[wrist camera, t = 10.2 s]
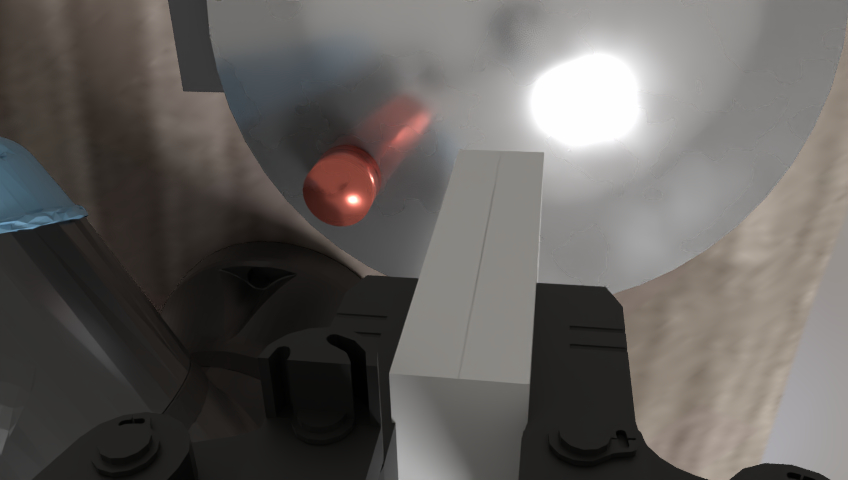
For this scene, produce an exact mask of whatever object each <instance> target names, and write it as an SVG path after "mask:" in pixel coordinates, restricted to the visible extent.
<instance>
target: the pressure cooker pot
mask: <svg viewBox="0 0 848 480" xmlns="http://www.w3.org/2000/svg"><path fill="white" fill-rule="evenodd" d="M168 3H169V9H170V15H171V21H172V27H173V33H174V39H175V45H176V50H177V56H178V62H179V68H180V74H181V80H182V86H183V91H192V92H224V90H223V87H222V84H221V81H220V78H219V75H218V72H217V67H216V62H215V57H214V53H213V48H212V43H211V38H210V33H209V21H208V10H207V0H168Z"/></svg>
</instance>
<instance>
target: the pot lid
mask: <svg viewBox="0 0 848 480" xmlns="http://www.w3.org/2000/svg"><path fill="white" fill-rule="evenodd" d="M207 10H208V21H209V33H210V38H211V43H212V48H213V53H214V57H215V62H216V67H217V72H218V75H219V78H220V81H221V84H222V87H223V90H224V93H225V96H226V99H227V102H228V105H229V108H230V110H231V112H232V114H233V116H234V118H235V120H236V122H237V125H238V127H239V129H240V131H241V133H242V135H243V137H244V139H245V142H246V143H247V145H248V146H249V148H250V150H251V151H252V153H253V154H254V156H255V158H256V159H257V161H258V163H259V164H260V166H261V167H262V169H263V171H264V172H265V173H266V175H267V176H268V177H269V179H270V180H271V181H272V182H273V184H274V185H275V186H276V187H277V189H278V190H279V191H280V192H281V194H282V195H283V196H284V198H285V199H286V200H287V201H288V202H289V203H290V204H291V205H292V206H293V207H294V208H295V209H296V210H297V211H298V212H299V213H300V214H301V215H302V216H303V217H304V218H305V219H306V220H307V221H308V222H309V223H310V224H311V225H312V226H313V227H314V228H315V229H317V230H318V231H319V232H320V233H321V234H323V235H324V236H325V237H326V238H328V239H329V240H330V241H331V242H333V243H334V244H335V245H336V246H338V247H339V248H340V249H342V250H344V251H345V252H347V253H348V254H350V255H351V256H353V257H354V258H356V259H358V260H359V261H361V262H362V263H364V264H365V265H367V266H369V267H371V268H373V269H375V270H377V271H379V272H381V273H383V274H385V275H387V276H389V277H406V278H419V276H420V273H421V270H422V267H423V264H424V260H425V257H426V254H427V251H428V248H429V244H430V241H431V238H432V235H433V232H434V229H435V225H436V222H437V219H438V216H439V213H440V209H441V206H442V203H443V200H444V197H445V193H446V190H447V187H448V184H449V181H450V177H451V174H452V171H453V168H454V165H455V162H456V158H457V155H458V152H459V149H463V150H492V151H520V152H544V167H543V188H542V208H541V229H540V249H539V270H538V283H550V284H567V285H585V286H602V287H606V288H607V289H608V290H609V291H610V292H611V294H614V293H617V292H620V291H623V290H626V289H629V288H632V287H635V286H638V285H641V284H643V283H646V282H648V281H650V280H652V279H654V278H656V277H659V276H661V275H663V274H665V273H667V272H669V271H672V270H674V269H676V268H677V267H679V266H681V265H682V264H684V263H686V262H687V261H689V260H690V259H692V258H694V257H695V256H697V255H699V254H700V253H702V252H704V251H705V250H707V249H708V248H710V247H711V246H712V245H713V244H715V243H716V242H717V241H719V240H720V239H721V238H722V237H724V236H725V235H726V234H728V233H729V232H730V231H731V230H733V229H734V228H735V227H736V226H738V225H739V224H740V223H741V222H742V221H743V220H744V219H745V218H746V217H747V216H748V215H749V214H750V213H751V212H752V211H753V210H754V209H755V208H756V207H757V206H758V205H759V204H760V203H761V202H762V201H763V200H764V199H765V198H766V197H767V196H768V194H769V193H770V192H771V191H772V189H773V188H774V187H775V185H776V184H777V183H778V182H779V180H780V179H781V178H782V177H783V175H784V174H785V173H786V171H787V170H788V169H789V168H790V166H791V165H792V164H793V162H794V160H795V159H796V157H797V155H798V154H799V152H800V150H801V149H802V147H803V145H804V144H805V142H806V140H807V139H808V137H809V135H810V134H811V132H812V130H813V129H814V126H815V124H816V122H817V120H818V117H819V115H820V113H821V110H822V108H823V106H824V104H825V101H826V99H827V97H828V94H829V92H830V90H831V87H832V83H833V80H834V77H835V73H836V70H837V66H838V63H839V59H840V56H841V52H842V49H843V44H844V38H845V31H846V24H847V17H848V0H207Z"/></svg>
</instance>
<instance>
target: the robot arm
mask: <svg viewBox="0 0 848 480" xmlns="http://www.w3.org/2000/svg"><path fill="white" fill-rule="evenodd" d="M543 167H544V152H520V151H492V150H463V149H459V152H458V155H457V158H456V162H455V165H454V168H453V171H452V174H451V177H450V181H449V184H448V187H447V190H446V193H445V197H444V200H443V203H442V206H441V209H440V213H439V216H438V219H437V222H436V225H435V229H434V232H433V235H432V238H431V241H430V244H429V248H428V251H427V254H426V257H425V260H424V264H423V267H422V270H421V273H420V276H419V278H406V277H388V276H371V275H367V276H366V277H365V278H363V279H362V280H361V279H360V278H359V277H358V276H357V275H355V274H354V273H353V272H351V271H350V270H349V269H347V268H346V267H344V266H343V265H341V264H340V263H338V262H336V261H334V260H332V259H331V258H328V257H326V256H324V255H322V254H320V253H317V252H315V251H312V250H309V249H306V248H303V247H299V246H295V245H290V244H284V243H276V242H252V243H244V244H239V245H235V246H231V247H228V248H225V249H222V250H220V251H217V252H215V253H213V254H211V255H209V256H208V257H206V258H205V259H203V260H202V261H201V262H199V263H198V264H197V265H196V266H195V267H193V268H192V269H191V270H190V272H189V273H188V274H187V275H186V276H185V277H184V279H183V280H182V281H181V282H180V284H179V285H178V286H177V287H176V289H175V290H174V291H173V293H172V294H171V295H170V297H169V299H168V300H167V302H166V304H165V306H164V308H163V310H162V313H161V315H160V314H159V313H158V312H157V310H156V309H155V308H154V306H153V305H152V304H151V302H150V301H149V300H148V299H147V297H146V296H145V295H144V293H143V292H142V291H141V289H140V288H139V287H138V286H137V284H136V283H135V282H134V280H133V279H132V278H131V276H130V275H129V274H128V273H127V271H126V270H125V269H124V267H123V266H122V265H121V263H120V262H119V261H118V260H117V258H116V257H115V256H114V254H113V253H112V252H111V250H110V249H109V248H108V247H107V245H106V244H105V243H104V241H103V240H102V239H101V237H100V236H99V235H98V234H97V232H96V231H95V230H94V228H93V227H92V226H91V224H90V223H89V222H88V221H87V219H86V218H85V217H87V216H88V213H87V211H86V209H85V208H84V207H83V206H80V205H76V204H74V203H73V202H72V201H71V199H70V198H69V197H68V196H67V195H66V193H65V192H64V191H63V190H62V189H61V188H60V186H59V185H58V184H57V183H56V182H55V181H54V179H53V178H52V177H51V176H50V175H49V174H48V172H47V171H46V170H45V169H44V168H43V167H42V165H41V164H40V163H39V162H38V161H37V160H36V158H35V157H34V156H33V155H32V154H31V153H30V152H29V151H28V150H27V149H26V148H24V147H23V146H21V145H20V144H18V143H16V142H14V141H12V140H10V139H7V138H3V137H0V480H708V479H704V478H701V477H698V476H695V475H693V474H690V473H688V472H686V471H683V470H681V469H678V468H676V467H674V466H673V465H671V464H670V463H668V462H666V461H665V460H663V459H662V458H660V457H659V456H658V455H657V454H656V453H654V452H653V451H652V450H651V449H650V448H649V447H648V446H647V445H646V443H645V441H644V439H643V436H642V434H641V432H640V431H639V430H638V428H637V425H636V422H635V413H634V404H633V396H632V387H631V378H630V369H629V360H628V352H627V342H626V334H625V324H624V315H623V307H622V306H621V304H620V303H619V302H618V301H617V300H616V298H615V297H614V296H613V295H612V294H611V292H610V291H609V290H608V289H607V288H606V287H602V286H585V285H567V284H550V283H538V270H539V249H540V229H541V208H542V188H543ZM730 480H830V479H828V478H826V477H825V476H823V475H821V474H819V473H816V472H813V471H810V470H806V469H803V468H800V467H797V466H793V465H784V464H769V463H764V464H760V465H756V466H752V467H748V468H744V469H742V470H741V471H740V472H739V473H737V474H736V475H735V476H734V477H732V478H731V479H730Z"/></svg>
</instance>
